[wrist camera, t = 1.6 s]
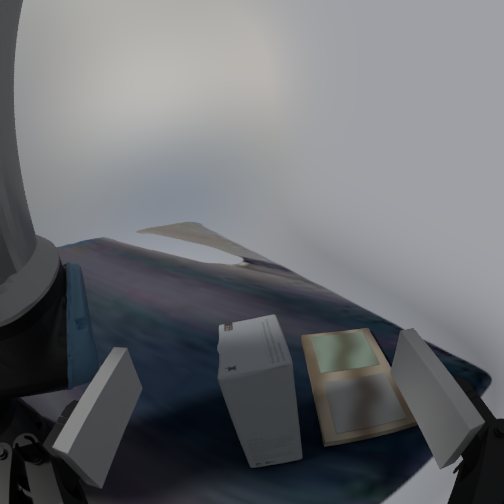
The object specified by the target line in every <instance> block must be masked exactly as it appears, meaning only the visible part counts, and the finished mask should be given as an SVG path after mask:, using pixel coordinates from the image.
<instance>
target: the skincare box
mask: <svg viewBox="0 0 504 504" xmlns="http://www.w3.org/2000/svg"><path fill="white" fill-rule="evenodd" d="M217 350H218V352H219V371H218V382H219V385H220V388H221V391H222V394H223V397H224V399H225V402H226V405H227V408H228V411H229V413H230V416H231V419H232V422H233V424H234V427H235V430H236V432H237V435H238V438H239V440H240V443H241V445H242V448H243V450H244V453H245V455H246V458H247V460H248V462H249V465H250V467H251V468H255V467H262V466H268V465H274V464H281V463H287V462H291V461H296V460H301V459H302V458H303V456H302V447H301V438H300V427H299V419H298V410H297V401H296V393H295V385H294V376H293V365H292V364H293V363H292V359H291V356H290V353H289V350H288V347H287V344H286V341H285V338H284V335H283V333H282V330H281V327H280V325H279V322H278V320H277V317H276V315H269V316H264V317H259V318H254V319H249V320H244V321H239V322H234V323H229V324H224V325H220V326H219V343H218V346H217Z"/></svg>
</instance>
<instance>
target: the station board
mask: <svg viewBox="0 0 504 504" xmlns="http://www.w3.org/2000/svg"><path fill="white" fill-rule="evenodd" d="M301 341H302V345H303V349H304V354H305V358H306V363H307V367H308V372H309V376H310V381H311V386H312V390H313V395H314V400H315V404H316V409H317V414H318V419H319V424H320V429H321V434H322V439H323V444H324V447H326V446H332V445H338V444H344V443H349V442H355V441H360V440H364V439H369V438H373V437H377V436H381V435H385V434H389V433H393V432H396V431H400V430H403V429H407V428H410V427H413V426H416V425H417V422H416V420H415V418H414V416H413V414H412V412H411V410H410V408H409V407H408V405H407V403H406V401H405V399H404V397H403V395H402V394H401V392H400V390H399V388H398V386H397V385H396V383H395V381H394V379H393V377H392V376H391V374H390V371H391V367H390V365H389V363H388V362H387V360H386V358H385V356H384V355H383V353H382V351H381V349H380V348H379V346H378V344H377V342H376V341H375V339H374V337H373V336H372V334H371V332H370V331H369V329H368V328H364V329H356V330H348V331H340V332H330V333H321V334H310V335H301Z"/></svg>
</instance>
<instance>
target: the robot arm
mask: <svg viewBox="0 0 504 504" xmlns="http://www.w3.org/2000/svg"><path fill="white" fill-rule="evenodd" d="M22 2H23V0H0V504H88V502H87V499H86V497H85V495H84V492H83V490H82V487H81V485H80V484H79V482H78V481H79V479H80V478H81V479H82V480H83V481H84V482H86V483H87V484H89V485H92V486H95V487H98V488H101V489H102V487H103V485H104V482H105V479H106V477H107V474H108V471H109V469H110V466H111V464H112V461H113V458H114V456H115V453H116V451H117V448H118V446H119V443H120V441H121V438H122V436H123V433H124V431H125V429H126V426H127V424H128V421H129V419H130V417H131V414H132V412H133V409H134V407H135V405H136V402H137V400H138V398H139V396H140V393H141V391H142V389H143V388H142V386H141V383H140V381H139V378H138V376H137V373H136V371H135V368H134V366H133V363H132V360H131V358H130V355H129V352H128V349H127V348H117V347H114V348H113V350H112V351H111V353H110V354H109V356H108V357H107V359H106V360H105V362H104V363H103V365H102V366H101V368H100V369H99V360H98V354H97V349H96V344H95V339H94V334H93V329H92V324H91V319H90V313H89V308H88V302H87V297H86V291H85V285H84V279H83V274H82V271H81V267H80V266H79V265H78V264H76V263H70V262H68V263H66V264H65V265H63V266H62V263H61V260H60V257H59V254H58V251H57V249H56V247H55V246H54V244H53V243H52V242H51V241H49V240H47V239H46V238H43V237H41V236H38V235H36V234H35V231H34V228H33V224H32V220H31V217H30V213H29V209H28V204H27V200H26V196H25V191H24V187H23V181H22V176H21V170H20V164H19V157H18V149H17V141H16V131H15V118H14V91H13V90H14V85H13V84H14V60H15V48H16V38H17V31H18V24H19V18H20V12H21V7H22ZM390 374H391V376H392V377H393V379H394V381H395V383H396V385H397V386H398V388H399V390H400V392H401V394H402V395H403V397H404V399H405V401H406V403H407V405H408V407H409V408H410V410H411V412H412V414H413V416H414V418H415V420H416V422H417V424H418V426H419V428H420V429H421V431H422V433H423V435H424V437H425V439H426V441H427V443H428V445H429V447H430V449H431V451H432V454H433V456H434V458H435V460H436V462H437V464H438V466H439V468H440V469H442V468H444V467H446V466H449V465H451V464H452V463H454V462H455V461H456V460H457V459H458V458H459V457H460V455H461V456H462V457H463V460H462V462H461V463H460V464H459V465H458V466H457V467H456V468H455V470H454V472H453V473H456V472H457V471H458V470H459V471H458V475H457V478H456V481H455V484H454V487H453V490H452V493H451V495H450V498H449V501H448V504H504V419H496V418H495V417H494V416H493V414H492V413H491V411H490V410H489V409H488V407H487V406H486V405H485V403H484V402H483V401H482V399H481V398H480V397H478V394H477V393H476V391H474V389H473V387H472V386H471V385H470V384H469V382H468V381H466V380H465V379H463V378H462V377H460V376H457V377H455V378H453V377H452V376H451V374H450V373H449V372H448V370H447V369H446V368H445V367H444V365H443V364H442V363H441V361H440V360H439V359H438V358H437V356H436V355H435V354H434V353H433V351H432V350H431V349H430V348H429V346H428V345H427V344H426V343H425V342H424V340H423V339H422V338H421V337H420V336H419V335H418V333H417V332H416V331H415V330H414V329H413V328H412V329H407V330H402V331H400V335H399V339H398V344H397V348H396V352H395V356H394V360H393V364H392V368H391V371H390ZM89 382H91V383H90V385H89V386H88V388H87V390H86V391H85V393H84V394H83V396H82V398H81V399H80V401H75V400H74V401H72V402H71V403H70V404H69V405H67V406H66V407H65V409H64V411H63V412H62V414H61V417H59V419H58V420H57V423H56V424H55V425H54V427H53V428H52V430H51V429H50V428H49V426H48V425H47V423H46V422H45V421H44V419H43V418H42V417H41V415H40V414H39V413H38V412H37V411H36V410H35V409H34V408H32V407H31V406H30V405H28V404H27V403H26V402H25V401H24V400H22V399H21V398H20V397H25V396H31V395H38V394H44V393H50V392H55V391H61V390H66V389H67V390H71V389H72V388H73V387H75V386H79V385H82V384H86V383H89Z"/></svg>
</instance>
